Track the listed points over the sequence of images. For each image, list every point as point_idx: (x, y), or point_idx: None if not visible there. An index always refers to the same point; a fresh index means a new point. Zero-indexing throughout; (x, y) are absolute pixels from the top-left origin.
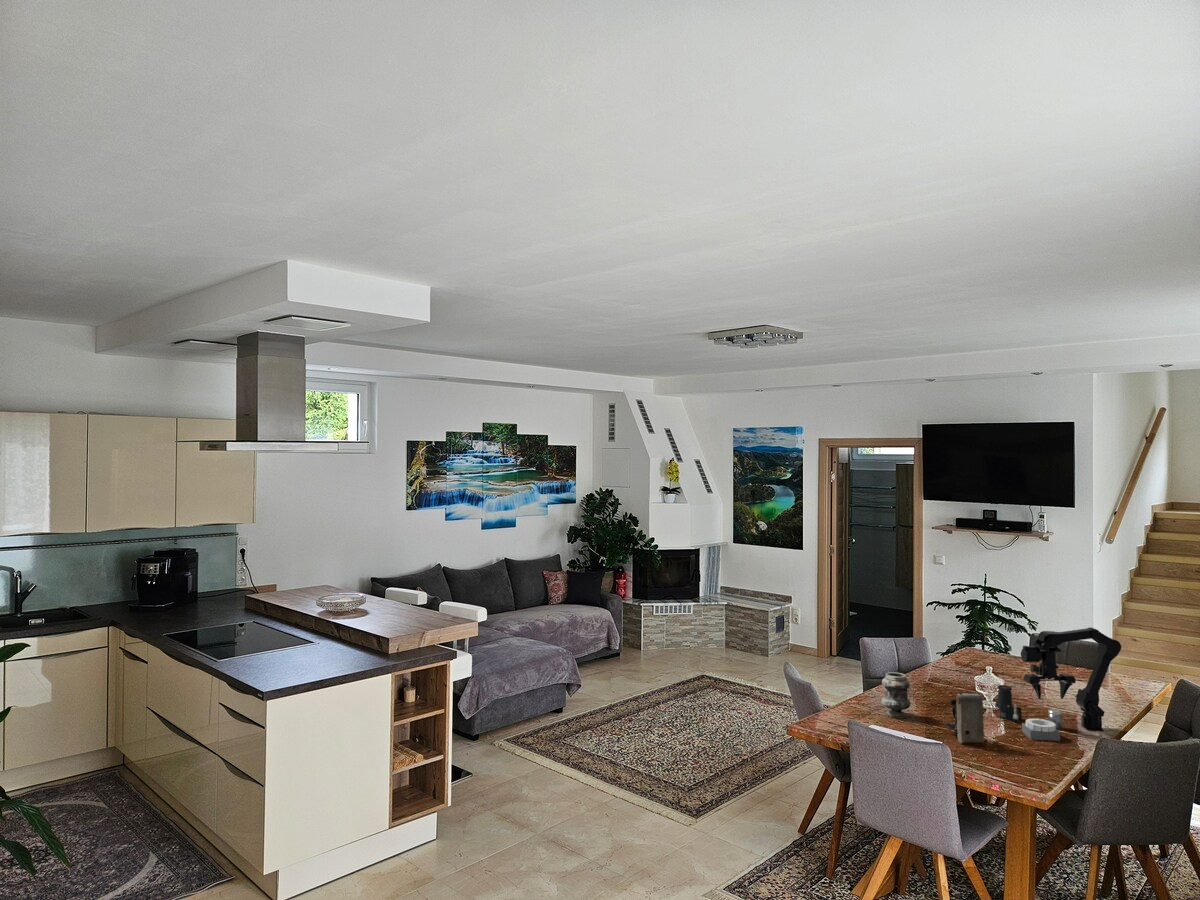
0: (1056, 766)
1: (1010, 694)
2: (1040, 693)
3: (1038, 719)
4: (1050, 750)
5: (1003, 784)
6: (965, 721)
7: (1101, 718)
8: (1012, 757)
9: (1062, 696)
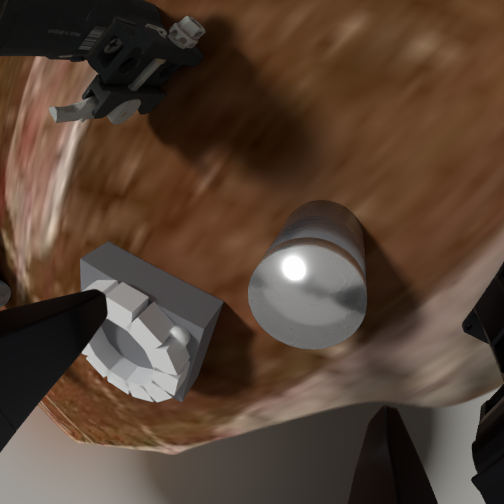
0: (110, 429)
1: (7, 37)
2: (52, 380)
3: (125, 320)
4: (128, 396)
5: (40, 404)
6: None
7: None
8: None
9: (359, 463)
